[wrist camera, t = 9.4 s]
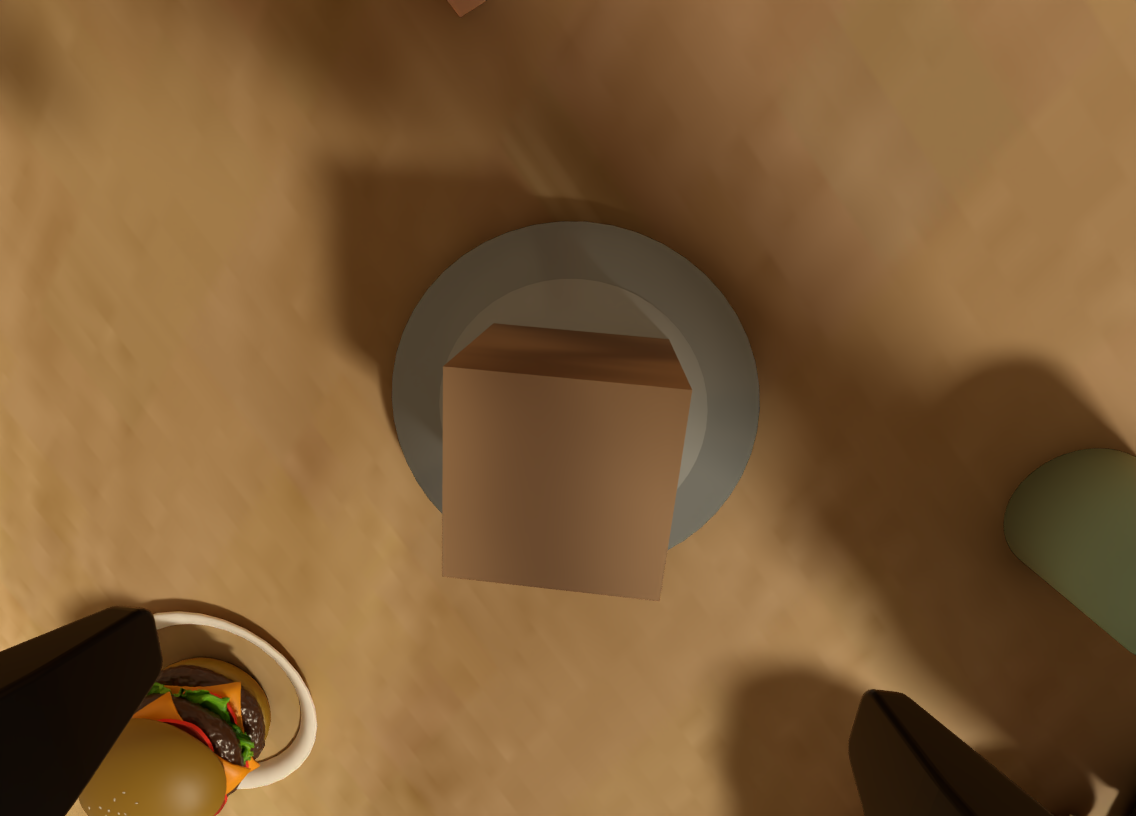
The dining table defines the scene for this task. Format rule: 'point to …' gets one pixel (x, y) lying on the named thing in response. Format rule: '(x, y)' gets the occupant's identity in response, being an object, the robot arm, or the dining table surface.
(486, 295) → the saucer
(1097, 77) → the dining table surface
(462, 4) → the terracotta block
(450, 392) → the walnut block
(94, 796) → the hamburger
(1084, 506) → the green tin
